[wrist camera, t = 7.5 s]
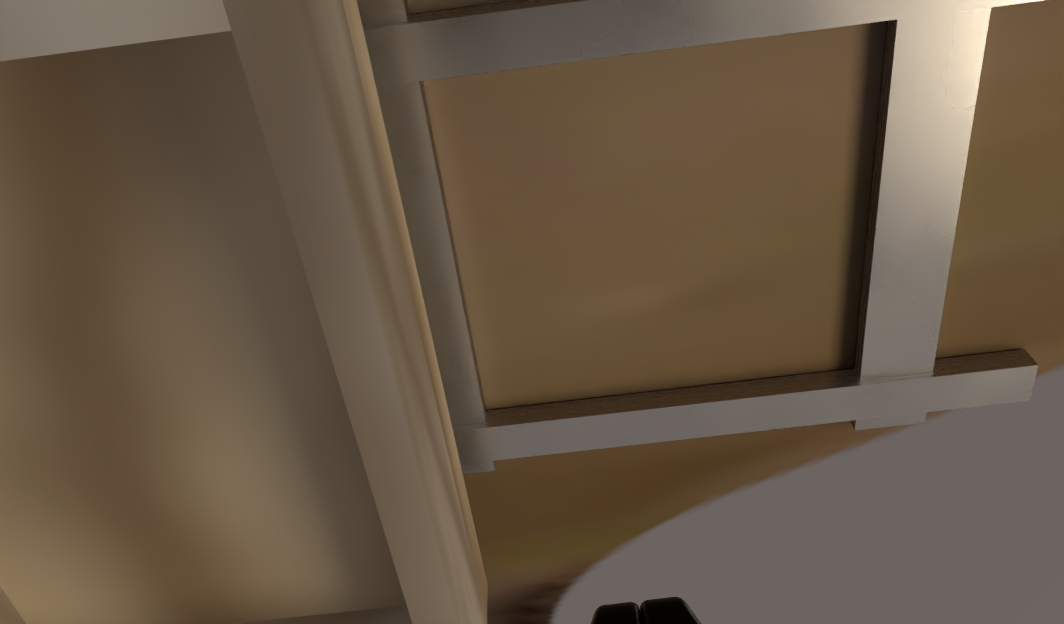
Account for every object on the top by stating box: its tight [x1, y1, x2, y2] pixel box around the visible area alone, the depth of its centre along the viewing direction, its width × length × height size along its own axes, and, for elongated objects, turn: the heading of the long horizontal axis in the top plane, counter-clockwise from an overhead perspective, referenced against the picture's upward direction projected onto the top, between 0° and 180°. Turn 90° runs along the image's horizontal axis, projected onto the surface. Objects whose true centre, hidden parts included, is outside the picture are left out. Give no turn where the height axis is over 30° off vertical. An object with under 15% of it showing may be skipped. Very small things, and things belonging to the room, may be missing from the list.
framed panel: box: [357, 0, 1043, 474], centre depth 17 cm, size 28×12×2 cm, turn 97°
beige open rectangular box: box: [0, 0, 487, 624], centre depth 16 cm, size 11×15×5 cm
